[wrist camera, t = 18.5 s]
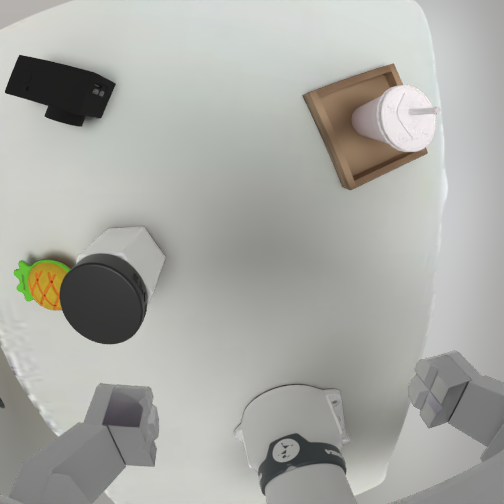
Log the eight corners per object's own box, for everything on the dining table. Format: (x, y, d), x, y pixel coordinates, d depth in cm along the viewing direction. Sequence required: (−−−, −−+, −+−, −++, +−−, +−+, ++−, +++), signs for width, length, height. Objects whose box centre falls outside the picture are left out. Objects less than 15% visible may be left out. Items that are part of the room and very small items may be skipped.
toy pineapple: (89, 304, 38) (75, 325, 33) (28, 295, 37) (10, 313, 32) (85, 254, 36) (69, 271, 31) (22, 248, 34) (1, 262, 29)
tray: (416, 151, 36) (427, 153, 34) (342, 186, 37) (350, 190, 34) (383, 67, 32) (393, 63, 30) (302, 95, 33) (308, 92, 30)
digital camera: (30, 106, 29) (-1, 103, 22) (47, 65, 28) (18, 54, 21) (97, 128, 31) (72, 126, 25) (116, 84, 30) (94, 72, 23)
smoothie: (381, 91, 33) (457, 77, 19) (393, 142, 35) (471, 150, 22) (334, 99, 33) (398, 81, 19) (348, 153, 35) (417, 163, 22)
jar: (147, 302, 39) (126, 361, 27) (89, 274, 37) (50, 324, 25) (175, 241, 37) (159, 286, 25) (113, 210, 35) (72, 242, 23)
